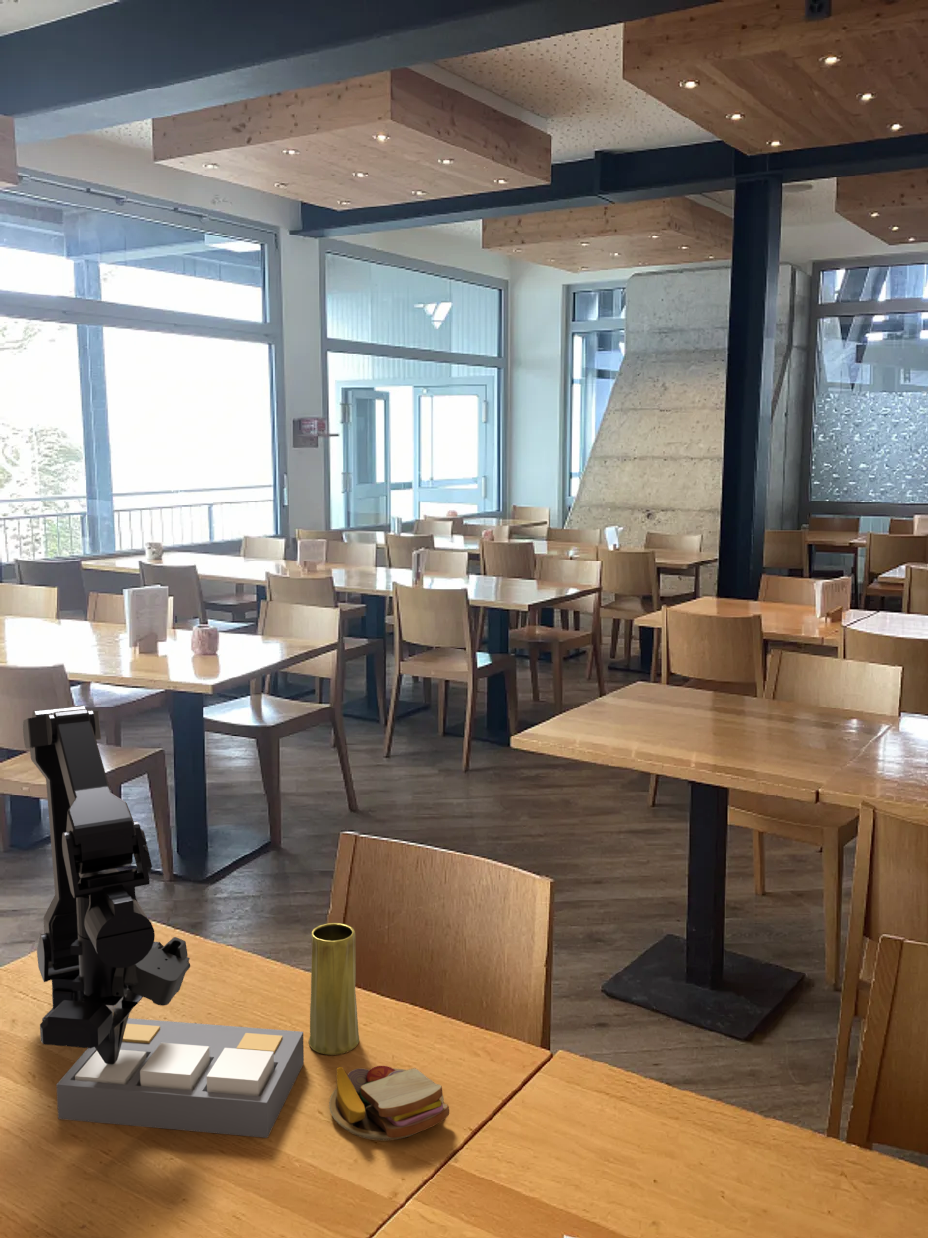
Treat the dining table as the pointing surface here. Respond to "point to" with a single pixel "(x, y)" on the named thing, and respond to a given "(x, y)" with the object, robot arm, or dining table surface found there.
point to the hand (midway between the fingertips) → (111, 1062)
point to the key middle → (175, 1066)
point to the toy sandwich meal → (386, 1102)
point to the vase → (333, 990)
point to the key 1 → (112, 1068)
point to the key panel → (186, 1105)
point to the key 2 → (241, 1072)
